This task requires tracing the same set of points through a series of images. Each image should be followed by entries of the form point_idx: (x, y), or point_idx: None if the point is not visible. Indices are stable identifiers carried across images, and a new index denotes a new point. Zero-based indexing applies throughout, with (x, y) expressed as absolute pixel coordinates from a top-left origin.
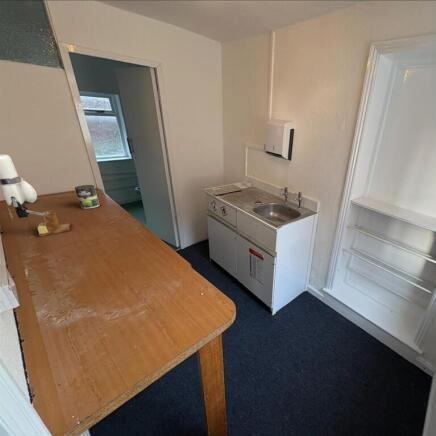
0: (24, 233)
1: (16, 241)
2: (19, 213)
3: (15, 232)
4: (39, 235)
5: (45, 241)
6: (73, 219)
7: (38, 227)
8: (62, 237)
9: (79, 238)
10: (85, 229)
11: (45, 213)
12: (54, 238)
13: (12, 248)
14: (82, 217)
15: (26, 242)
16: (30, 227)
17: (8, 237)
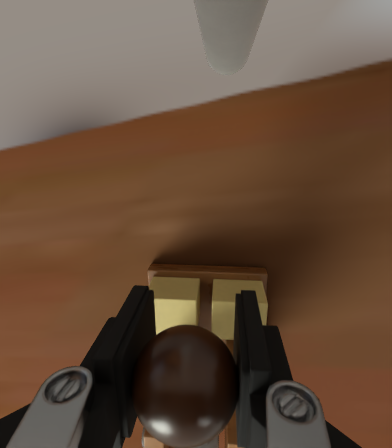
0: (266, 185)
1: (131, 161)
2: (94, 349)
3: (334, 128)
4: (150, 268)
5: (53, 291)
6: (360, 405)
7: (169, 301)
8: (73, 352)
9: (24, 403)
10: (135, 431)
11: (226, 438)
12: (77, 324)
13: (22, 158)
14: (363, 441)
15: (84, 213)
16: (383, 206)
17: (245, 102)
